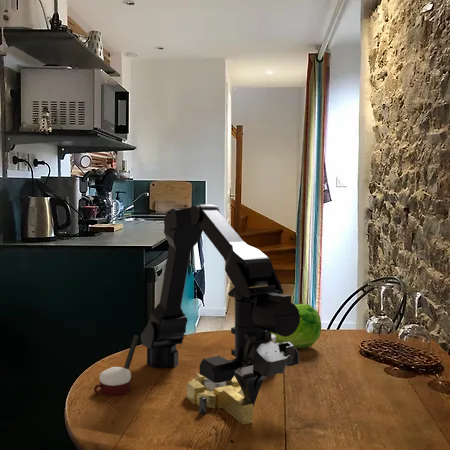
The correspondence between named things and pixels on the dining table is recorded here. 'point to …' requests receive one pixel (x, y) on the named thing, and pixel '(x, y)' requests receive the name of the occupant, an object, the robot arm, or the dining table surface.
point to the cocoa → (117, 376)
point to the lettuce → (304, 328)
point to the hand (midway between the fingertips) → (250, 406)
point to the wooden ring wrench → (222, 398)
